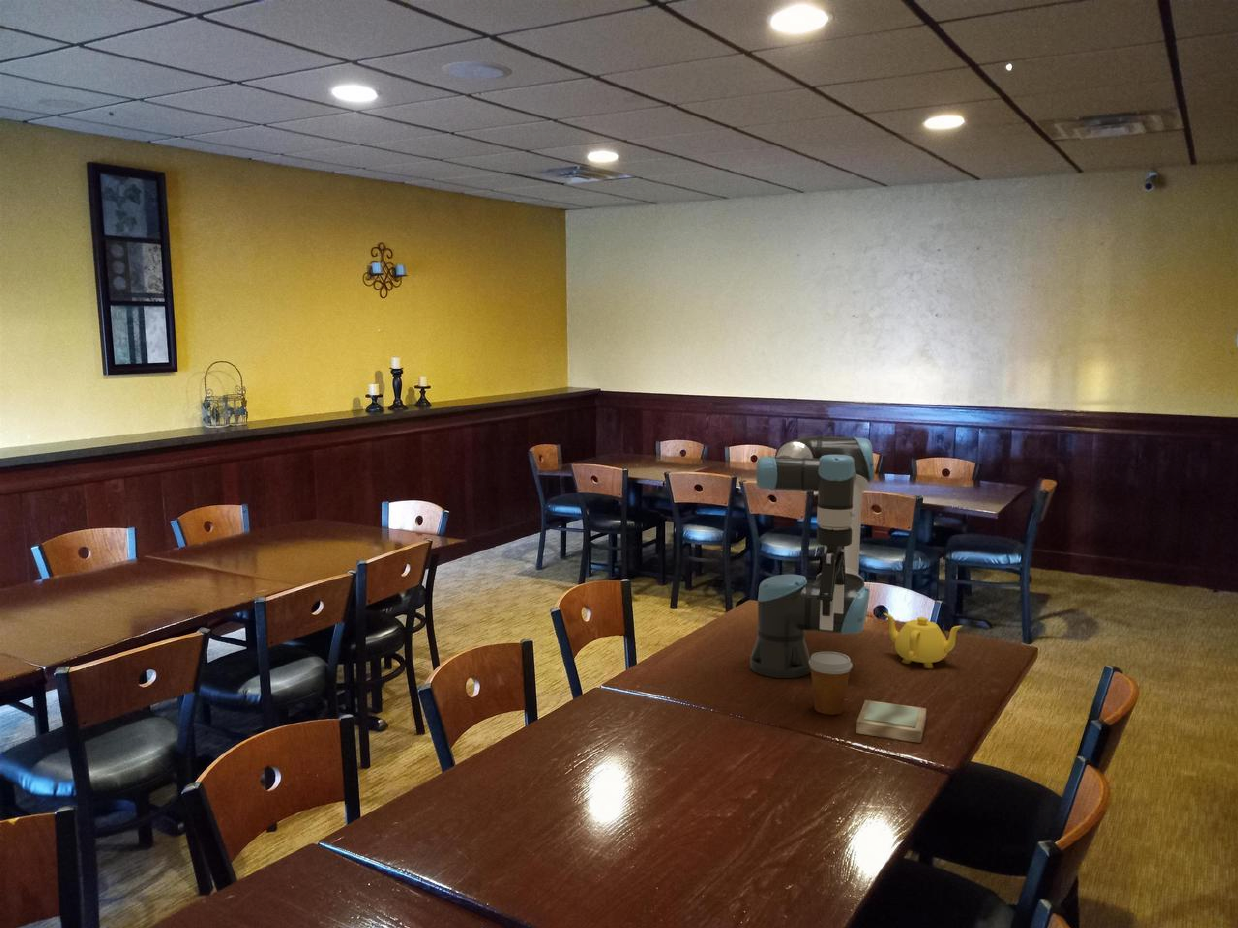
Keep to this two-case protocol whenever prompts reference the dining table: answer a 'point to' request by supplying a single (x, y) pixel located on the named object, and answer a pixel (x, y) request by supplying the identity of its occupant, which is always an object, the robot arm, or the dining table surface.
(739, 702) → the dining table surface
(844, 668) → the disposable coffee cup
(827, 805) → the dining table surface
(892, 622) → the teapot
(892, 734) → the trivet
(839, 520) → the robot arm
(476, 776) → the dining table surface
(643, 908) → the dining table surface
